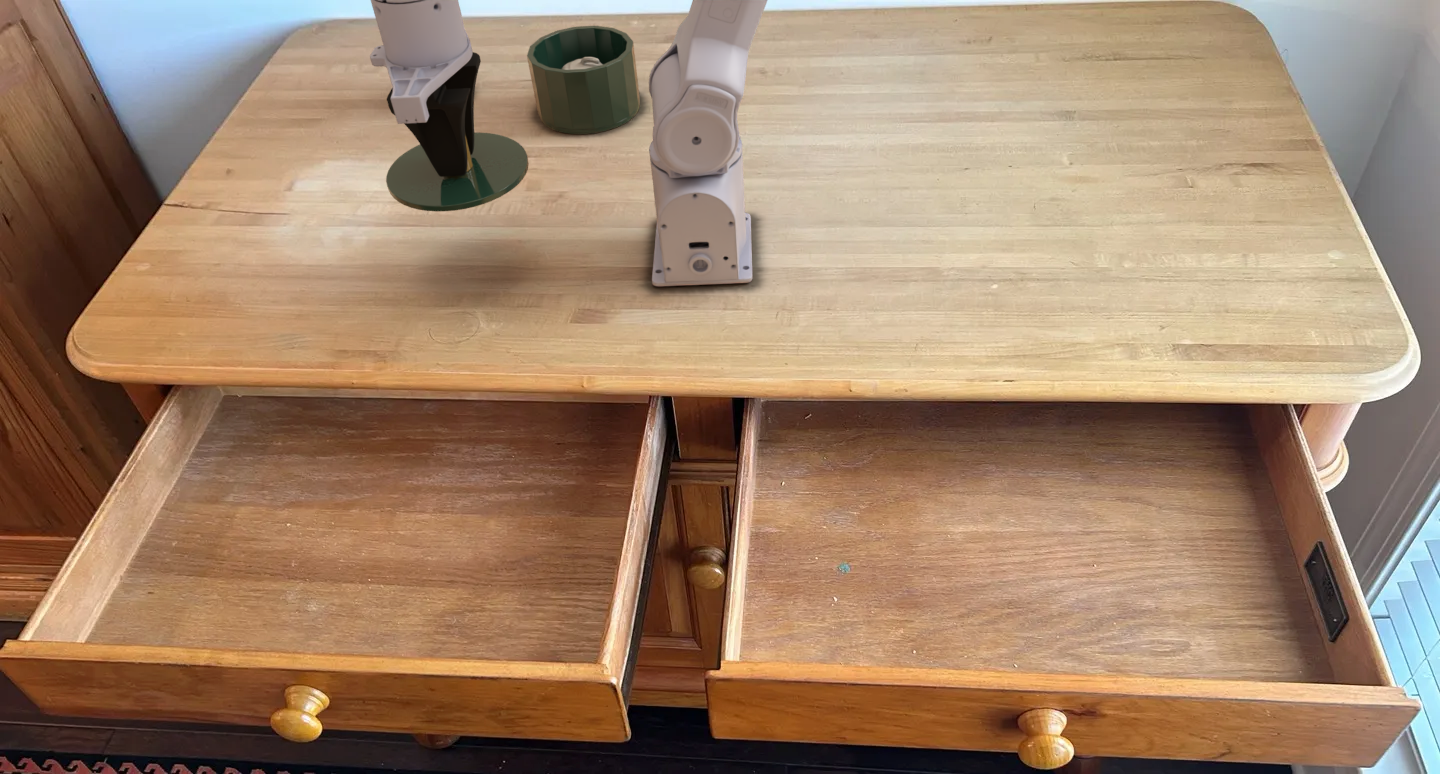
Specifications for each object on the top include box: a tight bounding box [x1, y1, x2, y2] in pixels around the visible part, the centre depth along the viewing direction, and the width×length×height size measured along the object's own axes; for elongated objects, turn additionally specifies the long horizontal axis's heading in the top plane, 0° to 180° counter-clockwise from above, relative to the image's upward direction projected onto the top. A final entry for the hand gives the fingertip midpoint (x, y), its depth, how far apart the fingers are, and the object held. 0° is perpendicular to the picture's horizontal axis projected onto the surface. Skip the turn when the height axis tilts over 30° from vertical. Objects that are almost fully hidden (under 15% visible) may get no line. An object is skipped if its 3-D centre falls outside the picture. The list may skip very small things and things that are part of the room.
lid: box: [385, 131, 530, 212], centre depth 80 cm, size 11×11×5 cm
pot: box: [526, 25, 641, 135], centre depth 104 cm, size 10×10×6 cm
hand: (456, 163), depth 81 cm, fingers closed on lid, 2 cm apart
